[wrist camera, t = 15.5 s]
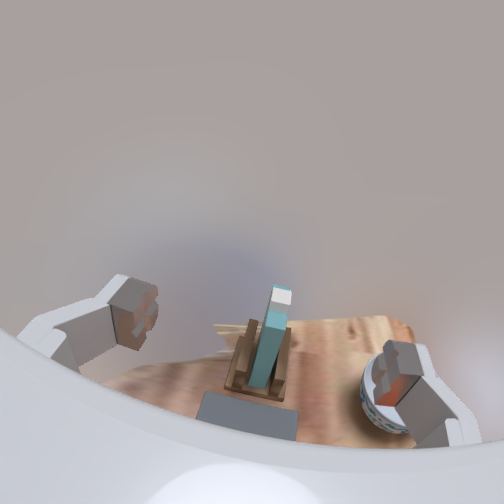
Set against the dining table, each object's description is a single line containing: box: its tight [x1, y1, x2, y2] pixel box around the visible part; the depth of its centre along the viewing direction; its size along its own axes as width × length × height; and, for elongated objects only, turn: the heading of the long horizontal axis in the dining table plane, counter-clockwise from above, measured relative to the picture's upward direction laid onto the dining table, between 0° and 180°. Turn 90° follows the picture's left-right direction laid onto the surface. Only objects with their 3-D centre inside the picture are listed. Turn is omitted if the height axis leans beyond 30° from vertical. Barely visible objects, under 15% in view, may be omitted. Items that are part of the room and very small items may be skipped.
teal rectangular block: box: [248, 284, 292, 389], centre depth 42 cm, size 2×9×15 cm, turn 171°
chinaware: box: [360, 352, 439, 434], centre depth 39 cm, size 15×15×8 cm
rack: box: [224, 319, 291, 402], centre depth 45 cm, size 9×11×6 cm
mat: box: [196, 391, 298, 441], centre depth 35 cm, size 14×12×1 cm
